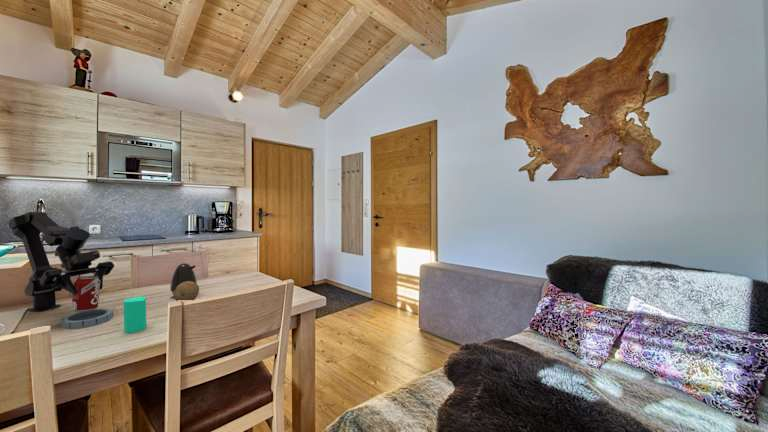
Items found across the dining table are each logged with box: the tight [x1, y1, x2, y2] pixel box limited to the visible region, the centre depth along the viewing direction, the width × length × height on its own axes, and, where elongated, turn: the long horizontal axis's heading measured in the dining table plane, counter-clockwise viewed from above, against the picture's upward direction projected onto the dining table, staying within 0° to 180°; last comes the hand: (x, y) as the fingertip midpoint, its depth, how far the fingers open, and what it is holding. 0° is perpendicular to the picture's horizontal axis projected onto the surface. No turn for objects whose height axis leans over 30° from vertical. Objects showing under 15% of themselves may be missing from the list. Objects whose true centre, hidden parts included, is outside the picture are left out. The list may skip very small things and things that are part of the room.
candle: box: [123, 295, 147, 334], centre depth 102 cm, size 6×6×12 cm
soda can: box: [70, 275, 101, 313], centre depth 106 cm, size 7×7×12 cm
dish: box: [60, 307, 114, 330], centre depth 107 cm, size 13×13×2 cm
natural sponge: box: [172, 281, 200, 302], centre depth 126 cm, size 9×9×10 cm
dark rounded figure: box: [170, 262, 198, 295], centre depth 136 cm, size 10×10×15 cm
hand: (89, 291), depth 106 cm, fingers closed on soda can, 7 cm apart
